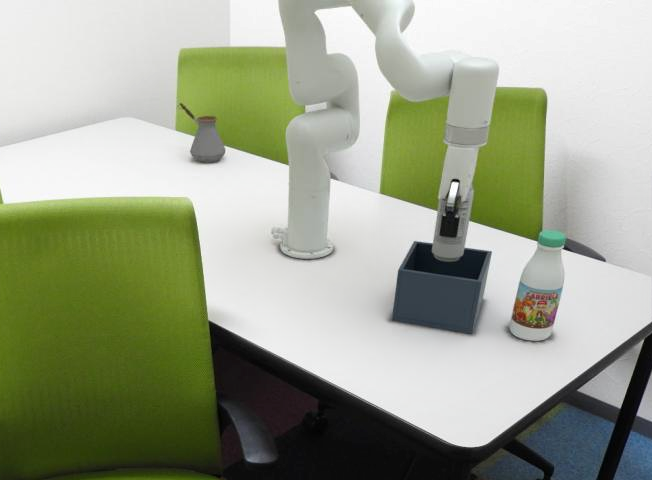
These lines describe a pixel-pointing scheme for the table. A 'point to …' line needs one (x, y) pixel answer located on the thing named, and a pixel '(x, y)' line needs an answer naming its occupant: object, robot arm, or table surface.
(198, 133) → the coffee pot
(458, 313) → the open storage box
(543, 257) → the milk bottle
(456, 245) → the energy drink can
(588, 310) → the table surface
